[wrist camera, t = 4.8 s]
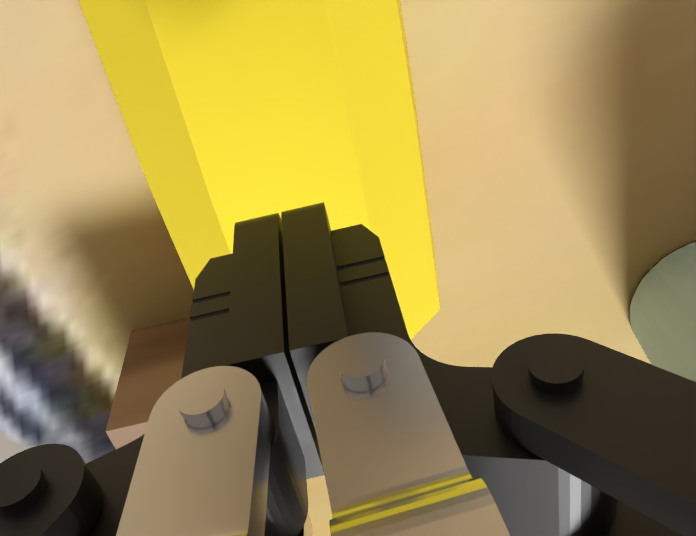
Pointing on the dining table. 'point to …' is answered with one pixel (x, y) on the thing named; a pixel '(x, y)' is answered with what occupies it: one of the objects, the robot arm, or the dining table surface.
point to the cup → (668, 313)
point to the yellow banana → (274, 122)
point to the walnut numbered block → (146, 378)
